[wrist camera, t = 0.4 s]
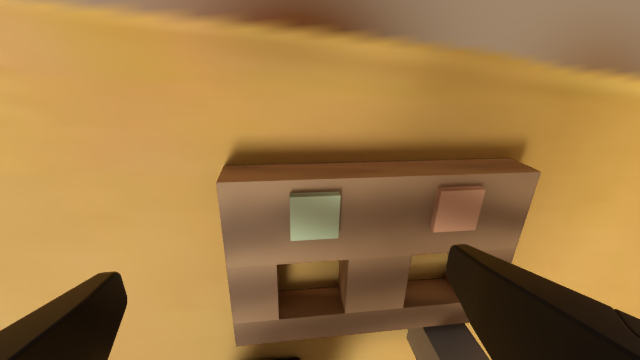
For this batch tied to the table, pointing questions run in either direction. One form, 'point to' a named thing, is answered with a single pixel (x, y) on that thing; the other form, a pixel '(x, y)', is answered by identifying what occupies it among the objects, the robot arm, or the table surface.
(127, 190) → the table surface
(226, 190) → the socket board
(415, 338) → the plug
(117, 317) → the robot arm
